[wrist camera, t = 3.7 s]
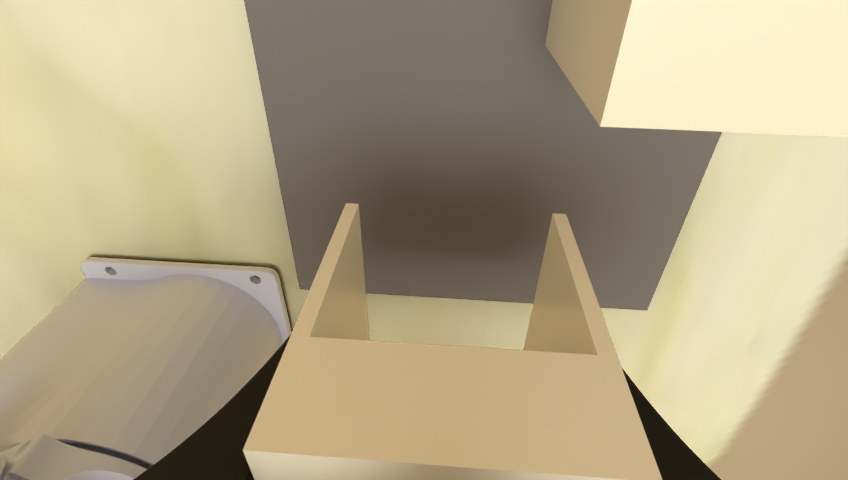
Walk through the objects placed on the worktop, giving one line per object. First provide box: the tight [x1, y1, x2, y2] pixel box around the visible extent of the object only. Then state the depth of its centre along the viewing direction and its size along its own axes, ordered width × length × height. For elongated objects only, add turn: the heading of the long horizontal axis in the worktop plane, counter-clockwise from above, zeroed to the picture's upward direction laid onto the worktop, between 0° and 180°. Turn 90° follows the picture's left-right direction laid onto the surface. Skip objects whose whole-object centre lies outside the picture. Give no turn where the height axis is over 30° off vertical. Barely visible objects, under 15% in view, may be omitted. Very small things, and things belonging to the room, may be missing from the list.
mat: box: [244, 0, 722, 310], centre depth 15 cm, size 16×20×1 cm
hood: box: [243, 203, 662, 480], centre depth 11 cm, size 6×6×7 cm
